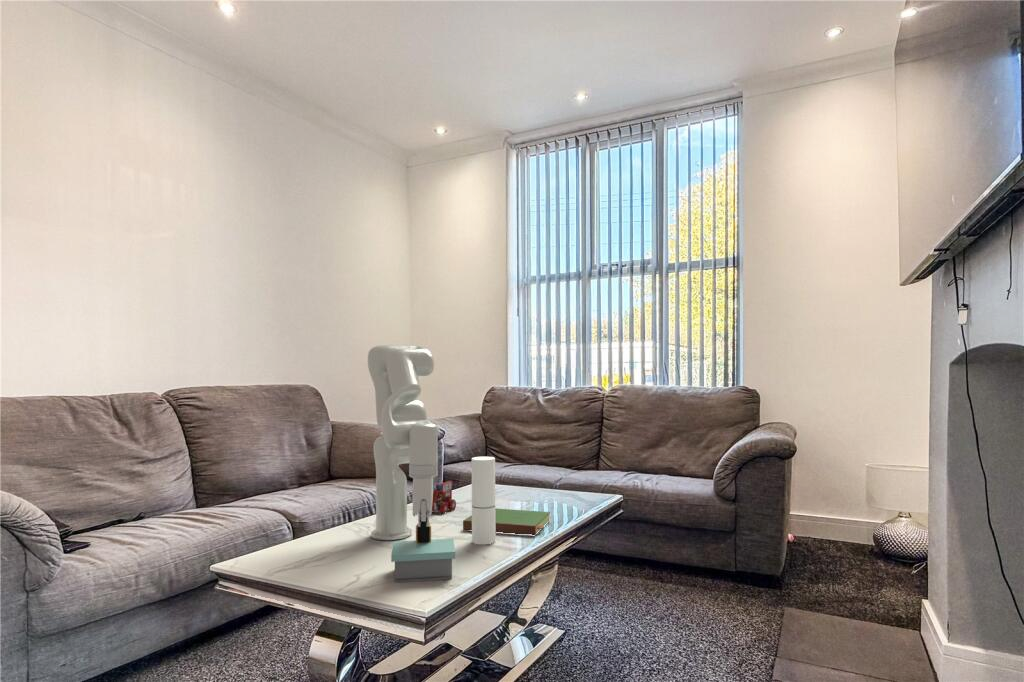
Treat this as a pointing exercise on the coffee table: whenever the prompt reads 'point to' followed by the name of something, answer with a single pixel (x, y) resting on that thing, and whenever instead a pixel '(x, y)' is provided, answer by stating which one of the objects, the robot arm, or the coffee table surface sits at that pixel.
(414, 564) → the tub
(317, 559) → the coffee table surface
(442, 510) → the toy fire truck
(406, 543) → the lid
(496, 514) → the hardcover book
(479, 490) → the cylindrical container
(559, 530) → the coffee table surface
